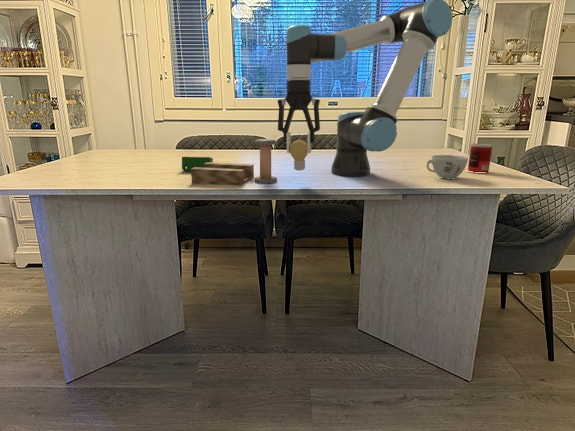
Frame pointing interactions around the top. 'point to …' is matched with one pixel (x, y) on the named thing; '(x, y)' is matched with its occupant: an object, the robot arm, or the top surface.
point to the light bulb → (299, 154)
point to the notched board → (223, 174)
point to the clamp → (194, 162)
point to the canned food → (480, 157)
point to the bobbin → (265, 162)
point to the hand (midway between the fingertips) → (298, 152)
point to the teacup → (448, 165)
